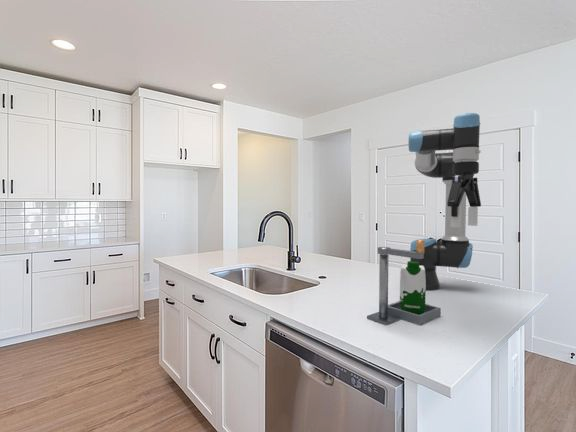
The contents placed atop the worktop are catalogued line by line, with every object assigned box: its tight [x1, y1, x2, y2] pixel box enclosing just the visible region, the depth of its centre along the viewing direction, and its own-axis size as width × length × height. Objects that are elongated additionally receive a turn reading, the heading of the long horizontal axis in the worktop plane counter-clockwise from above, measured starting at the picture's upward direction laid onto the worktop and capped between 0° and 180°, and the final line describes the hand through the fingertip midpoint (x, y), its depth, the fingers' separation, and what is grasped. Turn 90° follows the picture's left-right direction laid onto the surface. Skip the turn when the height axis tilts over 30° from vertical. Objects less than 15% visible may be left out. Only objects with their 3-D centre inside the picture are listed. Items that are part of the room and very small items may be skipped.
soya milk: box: [399, 261, 427, 315], centre depth 118 cm, size 9×9×20 cm
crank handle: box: [377, 239, 425, 259], centre depth 108 cm, size 17×4×6 cm, turn 38°
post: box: [366, 254, 401, 326], centre depth 113 cm, size 8×8×23 cm
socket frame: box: [388, 300, 442, 326], centre depth 118 cm, size 14×14×3 cm
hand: (464, 226), depth 106 cm, fingers open, 13 cm apart
